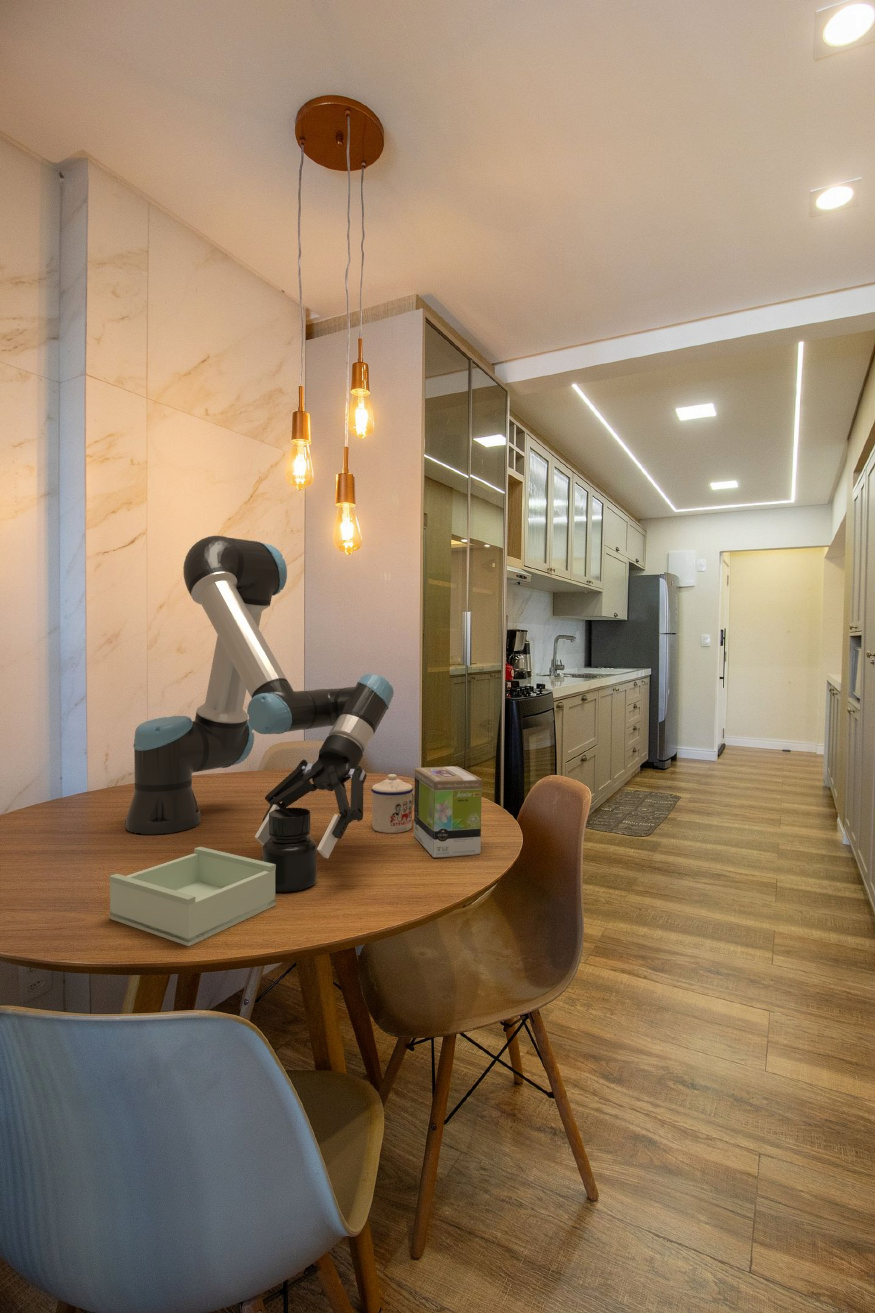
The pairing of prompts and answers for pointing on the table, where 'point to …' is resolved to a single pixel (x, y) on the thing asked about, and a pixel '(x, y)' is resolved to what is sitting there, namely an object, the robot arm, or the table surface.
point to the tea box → (448, 811)
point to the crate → (193, 895)
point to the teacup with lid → (392, 805)
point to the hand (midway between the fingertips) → (290, 847)
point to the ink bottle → (291, 849)
